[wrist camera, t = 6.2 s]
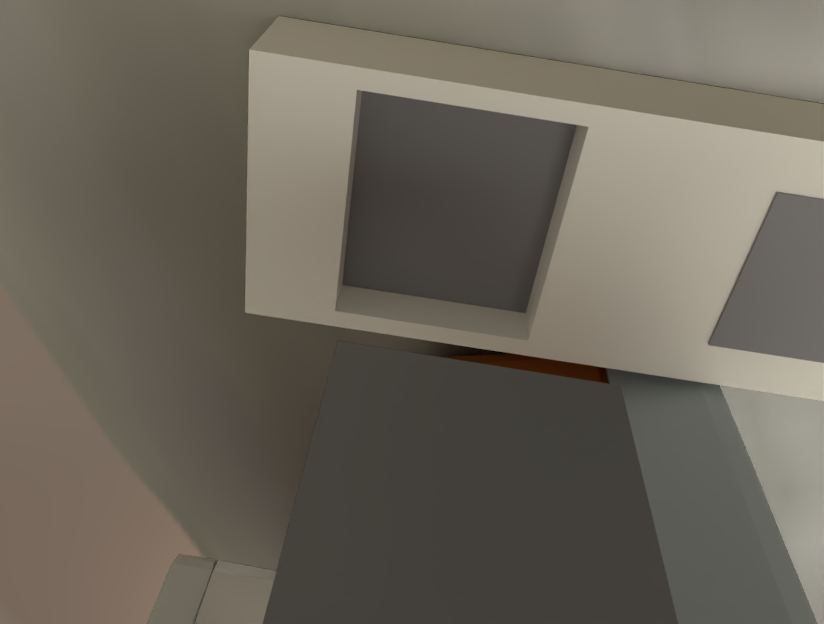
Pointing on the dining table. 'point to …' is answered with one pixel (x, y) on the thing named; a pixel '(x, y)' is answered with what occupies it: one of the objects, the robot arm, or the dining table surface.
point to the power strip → (535, 208)
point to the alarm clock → (698, 498)
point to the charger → (468, 501)
